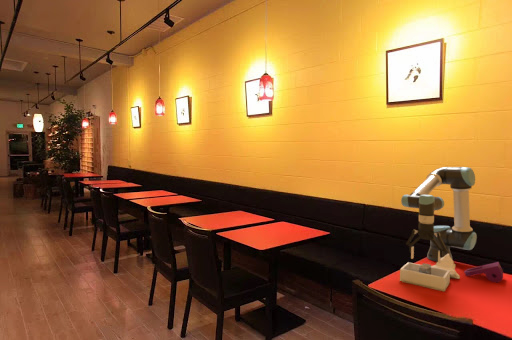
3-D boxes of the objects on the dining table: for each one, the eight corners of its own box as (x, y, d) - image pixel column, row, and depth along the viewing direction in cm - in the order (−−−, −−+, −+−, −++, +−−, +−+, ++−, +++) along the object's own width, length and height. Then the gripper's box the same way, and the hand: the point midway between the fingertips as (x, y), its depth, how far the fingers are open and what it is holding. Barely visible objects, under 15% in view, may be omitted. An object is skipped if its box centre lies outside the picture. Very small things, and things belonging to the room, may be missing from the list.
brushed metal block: (423, 277, 188) (423, 263, 188) (430, 278, 186) (431, 264, 185) (418, 281, 180) (419, 267, 180) (426, 283, 178) (427, 269, 178)
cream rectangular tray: (407, 273, 196) (407, 262, 196) (449, 282, 182) (450, 270, 182) (399, 281, 184) (400, 269, 183) (444, 291, 170) (444, 278, 169)
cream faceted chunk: (431, 273, 202) (434, 250, 204) (459, 280, 193) (462, 256, 195) (429, 273, 192) (432, 249, 194) (458, 281, 183) (462, 256, 185)
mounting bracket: (470, 287, 191) (505, 280, 181) (463, 273, 193) (498, 265, 183) (471, 282, 199) (505, 276, 188) (465, 269, 201) (498, 261, 190)
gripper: (400, 220, 187) (400, 257, 188) (450, 226, 171) (449, 266, 172) (404, 219, 193) (403, 254, 193) (453, 224, 177) (452, 263, 178)
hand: (425, 260), depth 183 cm, fingers open, 13 cm apart
